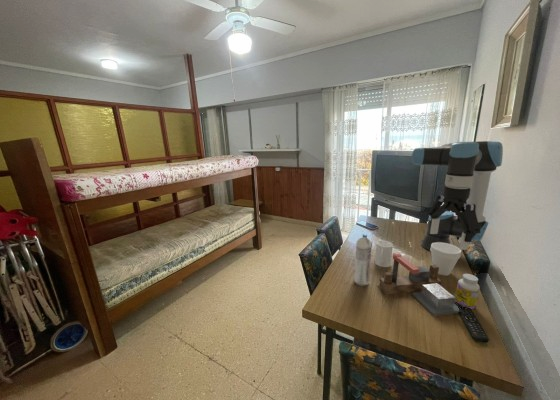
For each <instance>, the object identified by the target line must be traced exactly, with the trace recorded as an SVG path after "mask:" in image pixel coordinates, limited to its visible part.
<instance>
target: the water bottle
mask: <svg viewBox="0 0 560 400" xmlns="http://www.w3.org/2000/svg"><path fill="white" fill-rule="evenodd" d="M355 245H356V247H355V258H354V259H355V260H354V271H353V272H354V275H353V280H354V282H355V284H357V285H359V286H361V287H362V286H363V287H365V286H368V285H369V283H370V273H371V263H372V261H371V260H372V259H371V257H372V248H373V243H372V241H371V240H370V238H368V235H367V234H366V233H362V237H360V238H358V240H357V241H356V244H355Z"/></svg>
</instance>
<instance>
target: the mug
mask: <svg viewBox="0 0 560 400" xmlns="http://www.w3.org/2000/svg"><path fill="white" fill-rule="evenodd" d="M393 248H394V247H393V243H392V242H390V241H388V240H383V239H382V240H377V241H376V243H375V254H374V264H375V265H377V266H378V267H381V268H389V267H391V266H392V258H393Z"/></svg>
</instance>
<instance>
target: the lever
mask: <svg viewBox="0 0 560 400" xmlns="http://www.w3.org/2000/svg"><path fill="white" fill-rule="evenodd" d="M392 259H393V261H394V260H396V261H397V262H398V263H399V265H401V266H402V267H403V268H405V269H406V270H407V271H408V272H409V271H410V272H411V273H412V274H417V273H419V269H418V268H417V267H418V266H416V265H414V264H413V263H412V262H410V261H409V260H407V259H406V258H405V257H403V256H402V254H400V253H396V252H395V253H392Z"/></svg>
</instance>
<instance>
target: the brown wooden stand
mask: <svg viewBox="0 0 560 400" xmlns="http://www.w3.org/2000/svg"><path fill="white" fill-rule="evenodd" d="M392 265H393V266H392V273H391V272H384V277H380V278H379V287H380V288H381V290H382V291H383V292H384V293H385V294H386V295H391V294H392V295H393V294H402V293H411V292H413V293H414V292H421V289H422V285H425V284H435V283H438V284H439V285H440V286H441V287H442V280H441V279H440V278H439V277H438V275H439V274H438V271H439V267H438V266H436V265H433V264H430V265H429V269H428V268H427V267H426V266H423V265H422V266H416V267H417V268H418V269H419V273H417V274H412V273H411V272H410V271H409V270H408V275H402V276H398V272H399V266H400V263H398V262H397V261H396V260H394V259H393V264H392Z"/></svg>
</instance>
